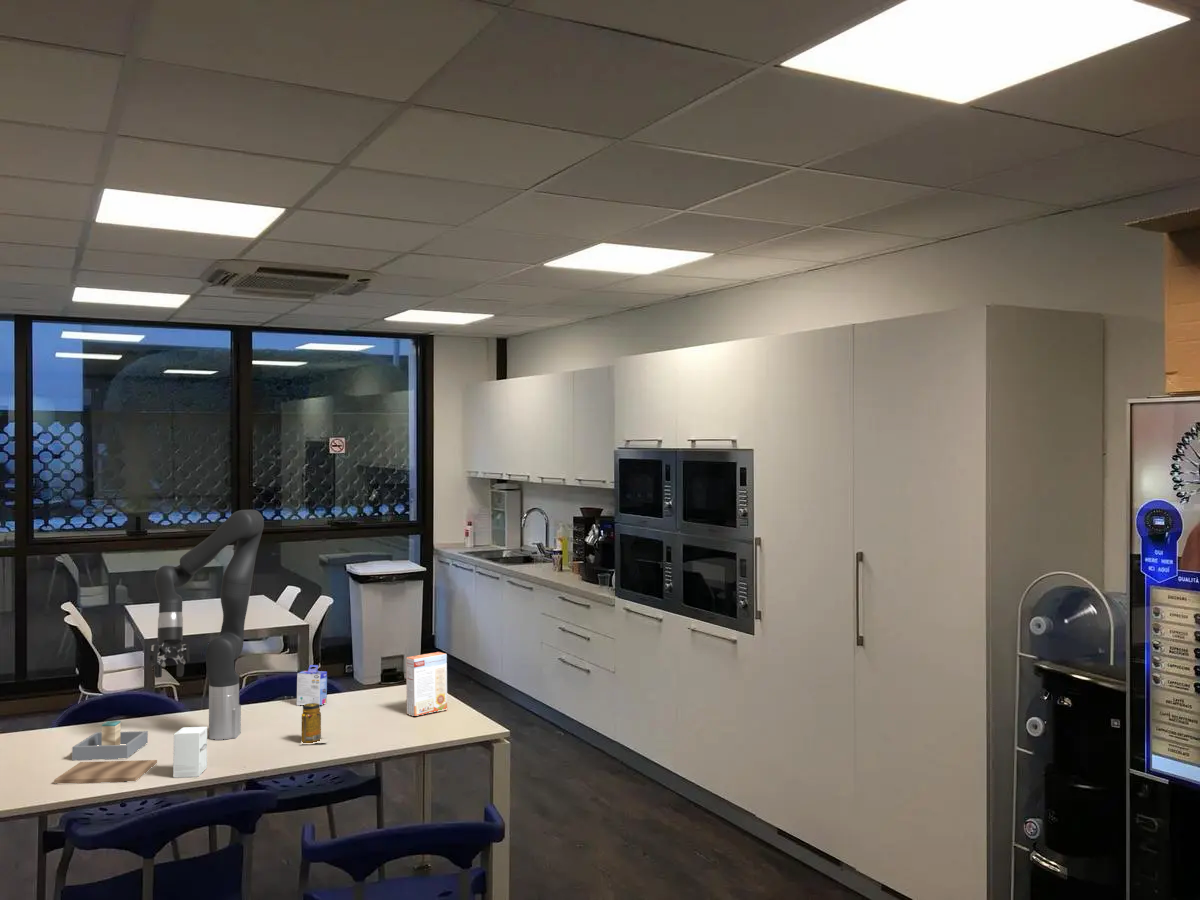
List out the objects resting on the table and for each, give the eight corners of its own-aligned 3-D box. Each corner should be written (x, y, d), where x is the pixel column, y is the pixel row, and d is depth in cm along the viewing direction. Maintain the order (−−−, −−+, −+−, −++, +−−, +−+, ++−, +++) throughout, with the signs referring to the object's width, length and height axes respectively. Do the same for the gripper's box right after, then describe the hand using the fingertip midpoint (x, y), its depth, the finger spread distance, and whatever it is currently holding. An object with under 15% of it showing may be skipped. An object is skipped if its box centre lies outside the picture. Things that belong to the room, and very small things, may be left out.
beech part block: (120, 749, 296) (120, 721, 296) (115, 753, 292) (115, 724, 292) (107, 750, 295) (107, 721, 295) (101, 753, 291) (101, 724, 292)
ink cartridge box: (327, 703, 353) (327, 664, 354) (320, 707, 348) (320, 668, 348) (303, 702, 355) (303, 663, 356) (296, 705, 350) (296, 666, 350)
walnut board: (157, 763, 281) (157, 759, 281) (135, 781, 265) (135, 777, 265) (80, 766, 279) (80, 762, 279) (53, 784, 263) (53, 779, 263)
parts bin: (147, 743, 302) (147, 731, 302) (127, 758, 286) (127, 745, 286) (95, 744, 301) (95, 732, 301) (72, 760, 285) (72, 747, 285)
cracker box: (438, 707, 347) (438, 651, 347) (447, 711, 342) (447, 653, 343) (405, 714, 337) (405, 656, 338) (414, 717, 333) (414, 658, 333)
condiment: (302, 739, 307) (302, 702, 307) (328, 738, 308) (328, 701, 308) (298, 745, 300) (298, 708, 300) (326, 744, 301) (326, 707, 301)
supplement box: (199, 777, 269) (199, 733, 269) (172, 778, 268) (172, 733, 269) (207, 769, 276) (208, 726, 277) (181, 769, 276) (182, 726, 276)
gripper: (160, 625, 302) (159, 677, 299) (195, 625, 315) (195, 675, 311) (143, 627, 305) (142, 678, 302) (179, 627, 318) (178, 676, 314)
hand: (169, 676), depth 306 cm, fingers open, 8 cm apart
